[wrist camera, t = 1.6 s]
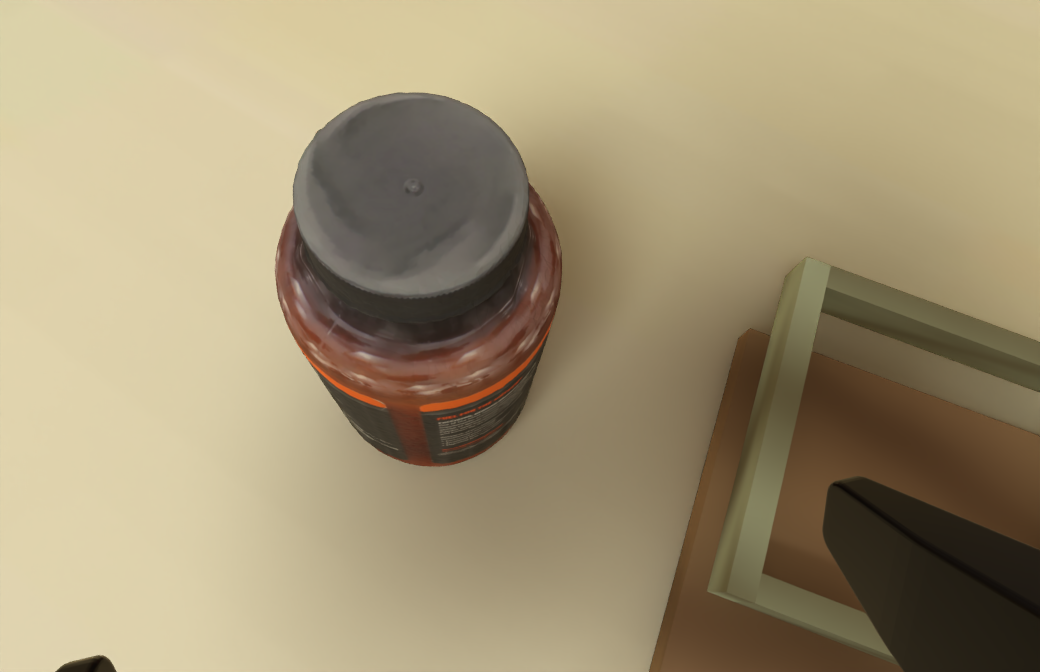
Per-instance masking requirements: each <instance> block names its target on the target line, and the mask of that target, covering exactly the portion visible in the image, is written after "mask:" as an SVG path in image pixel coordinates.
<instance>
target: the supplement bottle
mask: <svg viewBox="0 0 1040 672" xmlns="http://www.w3.org/2000/svg"><path fill="white" fill-rule="evenodd" d="M275 261H276V264H275V276H276V285H277V293H278V299H279V302H280V305H281V308H282V311H283V313H284V317H285V320H286V322H287V325H288V327H289V329H290V331H291V333H292V335H293V337H294V339H295V340H296V342H297V344H298V346H299V347H300V349H301V350H302V352H303V354H304V355H305V356H306V358H307V359H308V361H309V363H310V364H311V365H312V367H313V368H314V370H315V371H316V373H317V374H318V376H319V377H320V379H321V380H322V382H323V383H324V385H325V386H326V388H327V389H328V391H329V392H330V394H331V395H332V397H333V399H334V400H335V401H336V403H337V404H338V405H339V407H340V408H341V410H342V411H343V413H344V414H345V416H346V417H347V418H348V420H349V421H350V423H351V425H352V426H353V427H354V428H355V429H356V430H357V432H358V433H359V434H360V435H361V436H362V437H363V438H364V439H365V440H366V441H367V442H369V443H370V444H371V445H372V446H374V447H375V448H376V449H377V450H378V451H380V452H382V453H384V454H386V455H388V456H390V457H392V458H394V459H397V460H400V461H402V462H405V463H409V464H414V465H420V466H438V467H439V466H447V465H453V464H457V463H460V462H463V461H466V460H468V459H471V458H473V457H475V456H477V455H479V454H481V453H483V452H485V451H486V450H488V449H489V448H490V447H492V446H493V445H494V444H496V443H497V442H498V441H499V440H500V439H501V438H502V437H503V436H504V435H505V434H506V433H507V432H508V431H509V429H510V428H511V427H512V425H513V424H514V422H515V421H516V419H517V418H518V416H519V414H520V412H521V411H522V409H523V406H524V404H525V401H526V398H527V396H528V393H529V390H530V387H531V384H532V381H533V377H534V375H535V372H536V369H537V366H538V363H539V361H540V358H541V355H542V352H543V349H544V346H545V343H546V340H547V337H548V334H549V331H550V327H551V324H552V321H553V318H554V315H555V311H556V307H557V304H558V300H559V296H560V289H561V277H562V253H561V248H560V243H559V239H558V235H557V232H556V229H555V227H554V224H553V222H552V218H551V217H550V215H549V213H548V211H547V209H546V207H545V205H544V203H543V201H542V200H541V198H540V197H539V195H538V194H537V193H536V192H535V190H534V188H533V187H532V186H531V185H530V184H529V182H528V177H527V174H526V168H525V166H524V163H523V161H522V158H521V156H520V154H519V152H518V150H517V148H516V147H515V145H514V144H513V143H512V141H511V140H510V138H509V136H508V135H507V134H506V133H505V132H504V131H503V130H502V129H501V128H500V127H499V126H498V125H497V124H496V123H495V122H494V121H493V120H491V119H490V118H489V117H488V116H486V115H484V114H483V113H481V112H480V111H479V110H477V109H475V108H473V107H471V106H469V105H467V104H464V103H461V102H460V101H458V100H455V99H452V98H449V97H446V96H441V95H435V94H429V93H393V94H388V95H383V96H377V97H375V98H372V99H369V100H365V101H361V102H359V103H357V104H356V105H354V106H352V107H350V108H348V109H347V110H345V111H343V112H342V113H340V114H339V115H338V116H336V117H335V118H334V119H332V120H331V121H330V122H328V123H327V124H326V126H325V127H324V128H323V129H320V130H319V131H318V132H317V133H316V134H315V136H314V139H313V140H312V141H311V142H310V144H309V145H308V147H307V148H306V149H305V151H304V153H303V155H302V157H301V159H300V161H299V163H298V169H297V172H296V175H295V179H294V184H293V207H292V209H291V211H290V212H289V214H288V216H287V219H286V222H285V224H284V226H283V229H282V233H281V236H280V239H279V243H278V247H277V253H276V259H275Z"/></svg>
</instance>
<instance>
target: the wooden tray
mask: <svg viewBox="0 0 1040 672" xmlns="http://www.w3.org/2000/svg"><path fill="white" fill-rule="evenodd" d="M820 312H824V313H826V314H829V315H832V316H835V317H837V318H840V319H843V320H845V321H848V322H851V323H854V324H856V325H859V326H862V327H864V328H867V329H870V330H872V331H875V332H878V333H881V334H883V335H886V336H889V337H891V338H894V339H897V340H900V341H902V342H905V343H908V344H910V345H913V346H916V347H919V348H921V349H924V350H927V351H929V352H932V353H935V354H938V355H940V356H943V357H946V358H948V359H951V360H954V361H956V362H959V363H962V364H965V365H967V366H970V367H973V368H975V369H978V370H981V371H984V372H986V373H989V374H992V375H994V376H997V377H1000V378H1003V379H1005V380H1008V381H1011V382H1013V383H1016V384H1019V385H1021V386H1024V387H1027V388H1030V389H1032V390H1035V391H1038V392H1040V342H1038V341H1036V340H1033V339H1030V338H1028V337H1025V336H1022V335H1019V334H1017V333H1014V332H1011V331H1008V330H1006V329H1003V328H1000V327H998V326H995V325H992V324H989V323H987V322H984V321H981V320H978V319H976V318H973V317H970V316H968V315H965V314H962V313H959V312H957V311H954V310H951V309H948V308H946V307H943V306H940V305H938V304H935V303H932V302H929V301H927V300H924V299H921V298H918V297H916V296H913V295H910V294H908V293H905V292H902V291H899V290H897V289H894V288H891V287H888V286H886V285H883V284H880V283H877V282H875V281H872V280H869V279H867V278H864V277H861V276H858V275H856V274H853V273H850V272H847V271H845V270H842V269H839V268H837V267H834V266H831V265H828V264H826V263H823V262H820V261H817V260H815V259H812V258H809V257H806V258H805V259H804V260H803V261H802V262H801V263H799V264H798V265H797V266H796V267H795V268H794V269H793V270H792V271H791V272H790V273H789V274H788V275H786V277H785V281H784V285H783V289H782V293H781V297H780V301H779V305H778V309H777V313H776V317H775V321H774V325H773V329H772V333H771V336H769V335H767V334H764V333H761V332H759V331H756V330H753V329H751V328H750V329H749V330H748V331H747V332H745V333H744V334H743V335H742V336H741V337H740V338H738V342H737V346H736V350H735V353H734V357H733V361H732V364H731V368H730V372H729V376H728V379H727V383H726V387H725V391H724V394H723V398H722V402H721V406H720V409H719V413H718V417H717V421H716V424H715V428H714V432H713V435H712V439H711V443H710V447H709V450H708V454H707V458H706V462H705V465H704V469H703V473H702V477H701V480H700V484H699V488H698V491H697V495H696V499H695V503H694V506H693V510H692V514H691V518H690V521H689V525H688V529H687V533H686V536H685V540H684V544H683V547H682V551H681V555H680V559H679V562H678V566H677V570H676V574H675V577H674V581H673V585H672V589H671V592H670V596H669V600H668V604H667V607H666V611H665V615H664V618H663V622H662V626H661V630H660V633H659V637H658V641H657V645H656V648H655V652H654V656H653V660H652V663H651V667H650V671H649V672H904V671H903V670H902V669H901V667H900V666H899V664H898V663H897V662H896V660H895V659H894V657H893V656H892V654H891V653H890V651H889V650H888V648H887V647H886V645H885V644H884V642H883V640H882V639H881V637H880V636H879V634H878V633H877V631H876V629H875V627H874V626H873V624H872V622H871V621H870V619H869V617H868V616H867V614H866V612H865V611H864V609H863V607H862V605H861V604H860V602H859V600H858V599H857V597H856V595H855V594H854V592H853V590H852V589H851V587H850V585H849V584H848V582H847V580H846V578H845V577H844V575H843V573H842V572H841V570H840V568H839V567H838V565H837V563H836V562H835V560H834V558H833V556H832V555H831V553H830V551H829V550H828V548H827V546H826V544H825V541H824V538H823V532H822V525H823V518H824V511H825V504H826V496H827V490H828V487H829V486H830V484H831V483H832V482H834V481H837V480H841V479H846V478H850V477H854V476H863V477H866V478H869V479H871V480H873V481H876V482H878V483H881V484H883V485H885V486H888V487H890V488H893V489H895V490H897V491H900V492H902V493H905V494H907V495H910V496H912V497H914V498H917V499H919V500H922V501H924V502H926V503H929V504H931V505H934V506H936V507H938V508H941V509H943V510H946V511H948V512H950V513H953V514H955V515H958V516H960V517H963V518H965V519H967V520H970V521H972V522H975V523H977V524H979V525H982V526H984V527H987V528H989V529H991V530H994V531H996V532H999V533H1001V534H1004V535H1006V536H1008V537H1011V538H1013V539H1016V540H1018V541H1020V542H1023V543H1025V544H1028V545H1030V546H1032V547H1035V548H1037V549H1040V436H1039V435H1036V434H1033V433H1030V432H1028V431H1025V430H1022V429H1020V428H1017V427H1014V426H1012V425H1009V424H1006V423H1004V422H1001V421H998V420H995V419H993V418H990V417H987V416H985V415H982V414H979V413H977V412H974V411H971V410H969V409H966V408H963V407H960V406H958V405H955V404H952V403H950V402H947V401H944V400H942V399H939V398H936V397H934V396H931V395H928V394H926V393H923V392H920V391H917V390H915V389H912V388H909V387H907V386H904V385H901V384H899V383H896V382H893V381H891V380H888V379H885V378H882V377H880V376H877V375H874V374H872V373H869V372H866V371H864V370H861V369H858V368H856V367H853V366H850V365H847V364H845V363H842V362H839V361H837V360H834V359H831V358H829V357H826V356H823V355H821V354H818V353H815V352H812V348H813V343H814V339H815V334H816V330H817V326H818V321H819V317H820Z"/></svg>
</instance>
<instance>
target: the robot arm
mask: <svg viewBox="0 0 1040 672" xmlns="http://www.w3.org/2000/svg"><path fill="white" fill-rule="evenodd" d="M822 532H823V538H824V541H825V544H826V546H827V548H828V550H829V551H830V553H831V555H832V556H833V558H834V560H835V562H836V563H837V565H838V567H839V568H840V570H841V572H842V573H843V575H844V577H845V578H846V580H847V582H848V584H849V585H850V587H851V589H852V590H853V592H854V594H855V595H856V597H857V599H858V600H859V602H860V604H861V605H862V607H863V609H864V611H865V612H866V614H867V616H868V617H869V619H870V621H871V622H872V624H873V626H874V627H875V629H876V631H877V633H878V634H879V636H880V637H881V639H882V640H883V642H884V644H885V645H886V647H887V648H888V650H889V651H890V653H891V654H892V656H893V657H894V659H895V660H896V662H897V663H898V664H899V666H900V667H901V669H902V670H903V671H904V672H1040V549H1037V548H1035V547H1032V546H1030V545H1028V544H1025V543H1023V542H1020V541H1018V540H1016V539H1013V538H1011V537H1008V536H1006V535H1004V534H1001V533H999V532H996V531H994V530H991V529H989V528H987V527H984V526H982V525H979V524H977V523H975V522H972V521H970V520H967V519H965V518H963V517H960V516H958V515H955V514H953V513H950V512H948V511H946V510H943V509H941V508H938V507H936V506H934V505H931V504H929V503H926V502H924V501H922V500H919V499H917V498H914V497H912V496H910V495H907V494H905V493H902V492H900V491H897V490H895V489H893V488H890V487H888V486H885V485H883V484H881V483H878V482H876V481H873V480H871V479H869V478H866V477H863V476H854V477H850V478H846V479H841V480H837V481H834V482H832V483H831V484H830V486H829V487H828V490H827V496H826V504H825V511H824V518H823V525H822ZM56 672H116V670H115V668H114V666H113V664H112V663H111V661H110V660H109V659H108V658H107V657H105V656H103V655H102V656H100V655H98V656H93V657H89V658H85V659H81V660H76V661H72V662H69V663H66V664H64V665H63V666H61V667H60V668H59V669H58V670H57V671H56Z"/></svg>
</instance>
